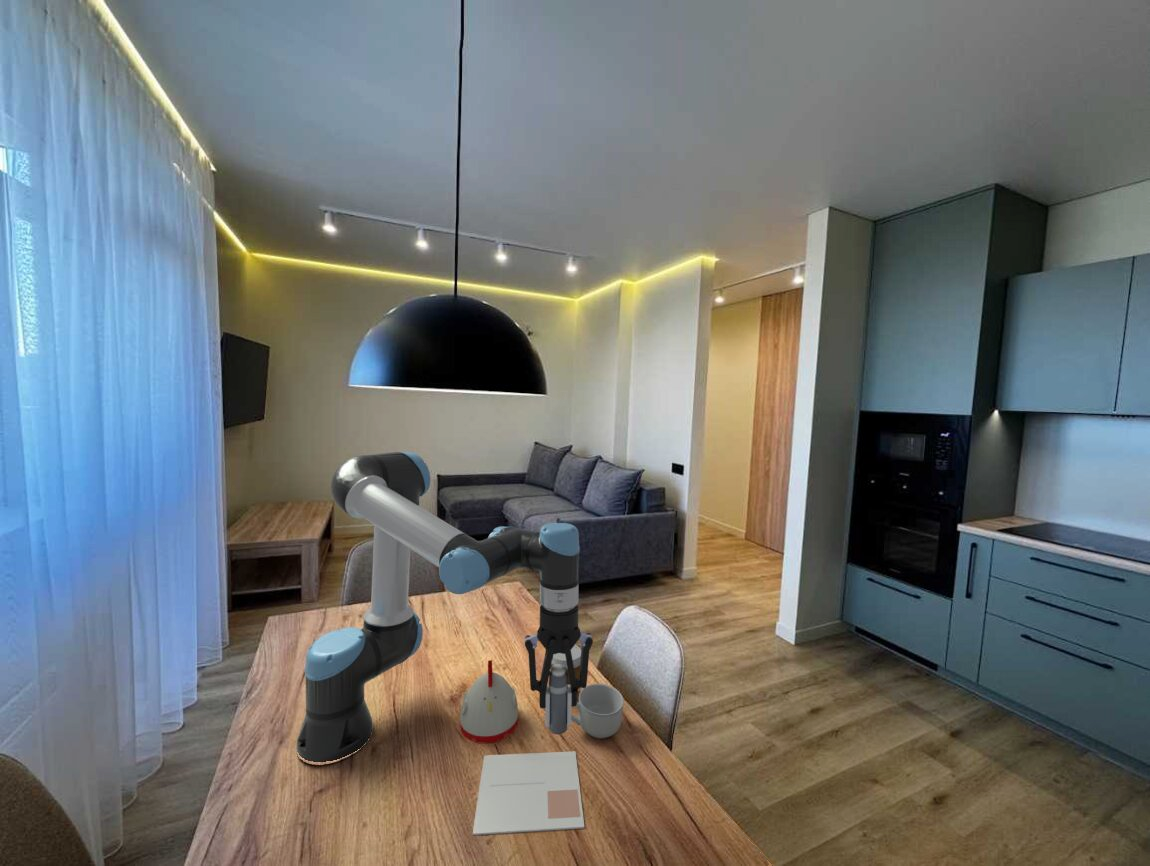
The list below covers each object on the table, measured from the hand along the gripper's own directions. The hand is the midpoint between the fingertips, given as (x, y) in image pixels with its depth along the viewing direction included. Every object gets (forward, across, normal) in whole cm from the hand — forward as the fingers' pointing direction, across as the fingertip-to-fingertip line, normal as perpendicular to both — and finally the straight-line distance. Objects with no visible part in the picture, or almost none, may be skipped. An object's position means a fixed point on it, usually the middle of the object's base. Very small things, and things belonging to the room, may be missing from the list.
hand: (557, 721), depth 87 cm
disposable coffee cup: (+15, +4, +30) cm, 34 cm away
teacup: (+15, +10, +17) cm, 25 cm away
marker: (+1, 0, 0) cm, 1 cm away
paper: (+15, -5, +2) cm, 16 cm away
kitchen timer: (+15, -15, +22) cm, 30 cm away
